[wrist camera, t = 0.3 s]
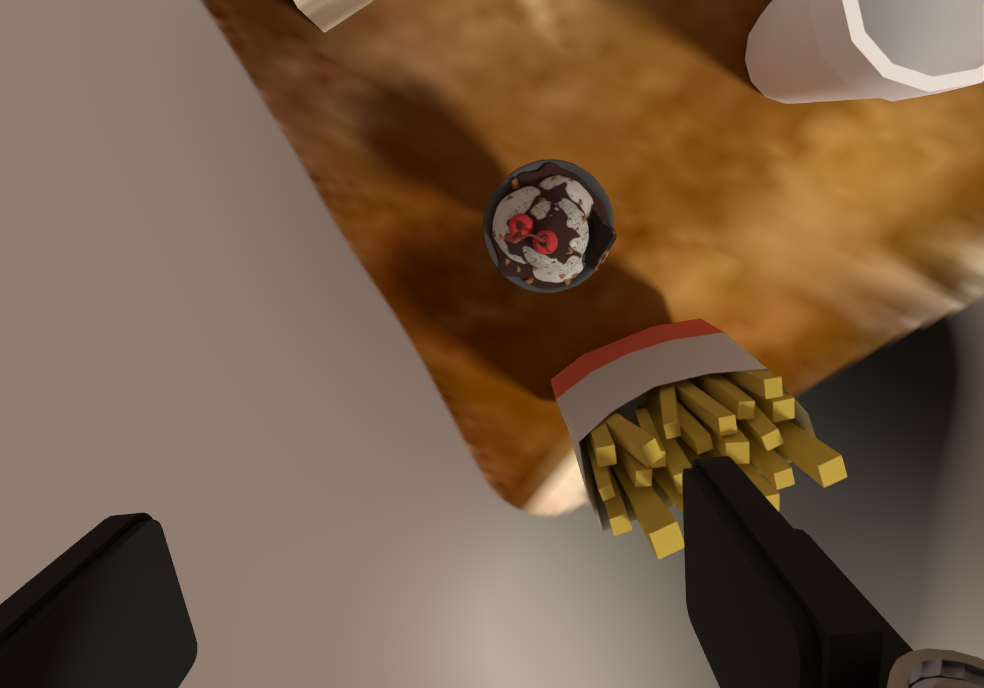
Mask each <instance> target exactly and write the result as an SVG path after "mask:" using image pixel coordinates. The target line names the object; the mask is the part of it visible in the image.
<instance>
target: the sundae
mask: <svg viewBox="0 0 984 688" xmlns="http://www.w3.org/2000/svg"><path fill="white" fill-rule="evenodd" d="M483 236H484V240H485V244H486V247H487V250H488V253H489V255H490V258H491V260H492V261H493V262H494V264H495V265H496V267H497V268H498V272H499V274H500V275H501V276H503V277H506V278H507V279H509V280H510V281H512V282H513V283H515V284H516V285H518V286H520V287H522V288H524V289H527V290H531V291H534V292H543V293H550V292H559V291H563V290H566V289H569V288H572V287H575V286H577V285H579V284H580V283H582V282H583V281H585V280H586V279H588V278H589V277H590V276H591V275H592V274H593V273H594V272H595V271H597V270H598V269H599V268H600V266H601V265H602V263H603V262H604V260H605V259H606V257H607V255H608V253H609V251H610V248H611V246H612V245H613V243H614V242H615V240H616V232H615V230H614V218H613V212H612V208H611V205H610V201H609V198H608V196H607V194H606V193H605V191H604V190H603V188H602V186H601V185H600V184H599V183H598V182H597V180H596V179H595V178H594V177H593V176H592V175H591V174H589V173H588V172H586V171H585V170H584V169H582V168H580V167H578V166H576V165H575V164H573V163H569V162H566V161H562V160H553V159H550V160H539V161H536V162H532V163H529V164H527V165H525V166H522V167H520V168H518V169H517V170H515V171H514V172H513V173H511V174H510V175H509V176H507V177H506V178H505V179H504V180H503V181H502V182H501V183H500V184H499V185H498V187H497V188H496V190H495V191H494V193H493V194H492V196H491V198H490V200H489V202H488V204H487V206H486V210H485V214H484V220H483Z"/></svg>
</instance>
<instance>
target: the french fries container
mask: <svg viewBox="0 0 984 688" xmlns="http://www.w3.org/2000/svg"><path fill="white" fill-rule="evenodd" d="M550 381H551V385H552V388H553V392H554V396H555V399H556V402H557V404H558V406H559V409H560V411H561V413H562V416H563V418H564V420H565V422H566V425H567V427H568V430H569V434H570V437H571V440H572V444H573V447H574V451H575V454H576V457H577V461H578V464H579V468H580V471H581V475H582V478H583V481H584V485H585V488H586V492H587V495H588V498H589V500H590V502H591V505H592V507H593V509H594V512H595V514H596V516H597V518H598V521H599V523H600V525H601V527H602V530H603V531H606V530H608V529H611V528H612V530H613V533H614V536H616V535H619V534H621V533H624V532H627V531H630V530H632V527H631V524H630V521H632V520H636V519H637V520H638V521H639V523H640V525H641V527H642V529H643V531H644V533H645V535H646V537H647V538H648V540H649V542H650V544H651V546H652V548H653V550H654V552H655V554H656V555H657V557H658V559H661V558H663V557H665V556H667V555H669V554H672V553H674V552H676V551H678V550H680V549H682V548H684V540H683V537H682V535H681V532H680V529H679V526H678V523H677V521H676V520H675V518H674V517H673V516H672V514H671V513H670V512H669V510H668V509H667V508H668V507H671V506H674V505H676V506H677V507H678V508H679V509H680V510H681V511H682V513H683V488H682V473H683V469H684V468H692V464H693V461H694V459H699V458H709V457H720V456H729V457H731V458H732V459H733V460H734V462H735V463H736V464H737V465H738V466H739V467H740V468H741V469H742V471H743V472H744V473H745V474H746V475H747V476H748V477H749V479H750V480H751V481H752V482H753V483H754V484H755V485H756V487H757V488H758V489H759V490H760V491H761V492H762V493H763V495H764V496H765V497H766V498H767V499H768V500H769V501H770V503H771V504H772V505H773V506H774V507H775V508H776V509H777V510H778V511H779V493H778V492H777V491H776V490H775V489H774V488H773V487H772V486H771V485H770V484H769V483H768V482H767V481H766V480H765V479H764V478H763V477H762V476H761V475H760V474H761V473H762V474H763V475H764V476H765V477H766V478H767V479H768V480H769V482H770V483H771V484H772V485H773V486H774V487H775V488H776V489H777V490H778V489H781V488H784V487H787V486H790V485H793V484H795V483H794V478H793V474H792V468H791V467H790V466H789V465H788V463H790V462H794V463H795V464H796V465H797V466H798V467H800V468H801V469H802V470H803V471H805V472H806V473H807V474H808V475H809V476H811V477H812V478H813V479H814V480H815V481H817V482H818V483H819V484H820V485H821V486H823V487H826V486H829V485H831V484H833V483H835V482H837V481H839V480H842V479H844V478H846V477H847V474H846V470H845V466H844V463H843V459H842V456H841V455H840V454H839V453H837V452H836V451H834V450H833V449H831V448H830V447H828V446H827V445H825V444H824V443H822V442H821V441H819V440H818V439H816V437H815V434H814V431H813V428H812V425H811V421H810V418H809V415H808V413H807V412H806V411H805V410H804V409H803V408H802V407H801V406H800V404H799V403H798V402H797V401H796V400H795V399H794V397H792V396H791V394H790V393H789V392H788V391H787V390H786V389H785V388H784V387H783V386H782V379H781V376H778V375H775V374H773V373H771V372H770V371H769V370H768V369H767V368H766V367H765V366H763V365H762V364H761V363H760V362H759V361H757V360H756V359H755V358H754V357H753V356H751V355H750V354H749V353H748V352H747V351H745V350H744V349H743V348H742V347H741V346H740V345H738V344H737V343H736V342H735V341H734V340H732V339H731V338H730V337H729V336H728V335H726V334H725V333H724V332H722V331H721V330H719V329H717V328H716V327H714V326H712V325H711V324H709V323H707V322H706V321H704V320H702V319H695V320H689V321H682V322H676V323H670V324H663V325H657V326H652V327H649V328H647V329H645V330H642V331H640V332H637V333H635V334H632V335H630V336H627V337H625V338H622V339H620V340H618V341H615V342H613V343H610V344H608V345H605V346H603V347H600V348H598V349H596V350H593V351H591V352H588V353H586V354H583V355H581V356H580V357H579V358H577V359H576V360H575V361H574V362H572V363H571V364H570V365H568V366H567V367H566V368H565V369H563V370H562V371H561V372H559V373H558V374H557V375H556V376H554V377H553V378H552V379H550Z"/></svg>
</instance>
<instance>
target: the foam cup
mask: <svg viewBox="0 0 984 688" xmlns="http://www.w3.org/2000/svg"><path fill="white" fill-rule="evenodd" d="M745 62H746V66H747V69H748V73H749V77H750V80H751V82H752V83H753V84H754V85H755V86H756V88H757V89H758V90H759V91H760V92H761V93H762V94H763V95H764V96H765V97H766V98H770V99H773V100H776V101H779V102H782V103H785V104H787V103H790V104H792V103H808V102H823V101H838V100H853V99H869V98H883V99H886V100H889V101H897V100H903V99H908V98H914V97H920V96H925V95H931V94H937V93H941V92H945V91H949V90H953V89H958V88H962V87H966V86H970V85H974V84H978V83H981V82H982V81H984V0H772V1H771V2H770V4H769V5H768V6H767V7H766V8H765V10H764V11H763V12H762V13H761V15H760V17H759V18H758V20H757V22H756V23H755V25H754V26H753V28H752V30H751V31H750V33H749V35H748V41H747V48H746V54H745Z"/></svg>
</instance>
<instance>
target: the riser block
mask: <svg viewBox="0 0 984 688" xmlns="http://www.w3.org/2000/svg"><path fill="white" fill-rule="evenodd" d="M372 1H374V0H294V2H295V4H296V6H297V7H298V9H299V10H300V11H301V12H303V13H304V14H305V15H306V16H307V17H308V18H309V19H310V20H311V21H312V22H313V23H314V24H315V25H316V26H317V27H319V28H320V29H321V30H322V31H323V32H324V33H325V32H326V31H328V30H329V29H331V28H332V27H334V26H335V25H337V24H339V23H340V22H342V21H343V20H345V19H346V18H348V17H349V16H351V15H352V14H354V13H355V12H357V11H358V10H360V9H361V8H363V7H364V6H366V5H368V4H369V3H371V2H372Z"/></svg>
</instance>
